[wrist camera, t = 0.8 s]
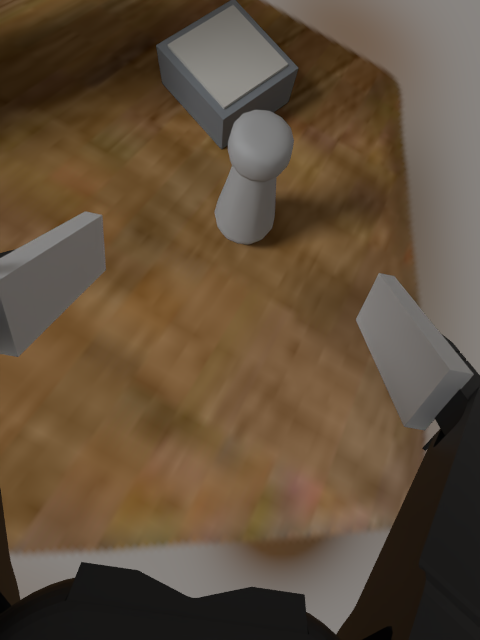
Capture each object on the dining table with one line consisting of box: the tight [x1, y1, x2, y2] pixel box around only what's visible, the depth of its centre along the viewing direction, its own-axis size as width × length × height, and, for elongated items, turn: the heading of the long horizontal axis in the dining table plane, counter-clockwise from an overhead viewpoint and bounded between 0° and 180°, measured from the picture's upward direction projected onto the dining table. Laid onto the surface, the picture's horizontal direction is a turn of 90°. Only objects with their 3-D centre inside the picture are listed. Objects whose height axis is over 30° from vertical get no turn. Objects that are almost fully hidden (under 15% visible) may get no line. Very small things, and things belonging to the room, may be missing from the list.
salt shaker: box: [215, 110, 294, 245], centre depth 25 cm, size 6×6×13 cm
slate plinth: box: [156, 0, 298, 149], centre depth 32 cm, size 10×10×4 cm
